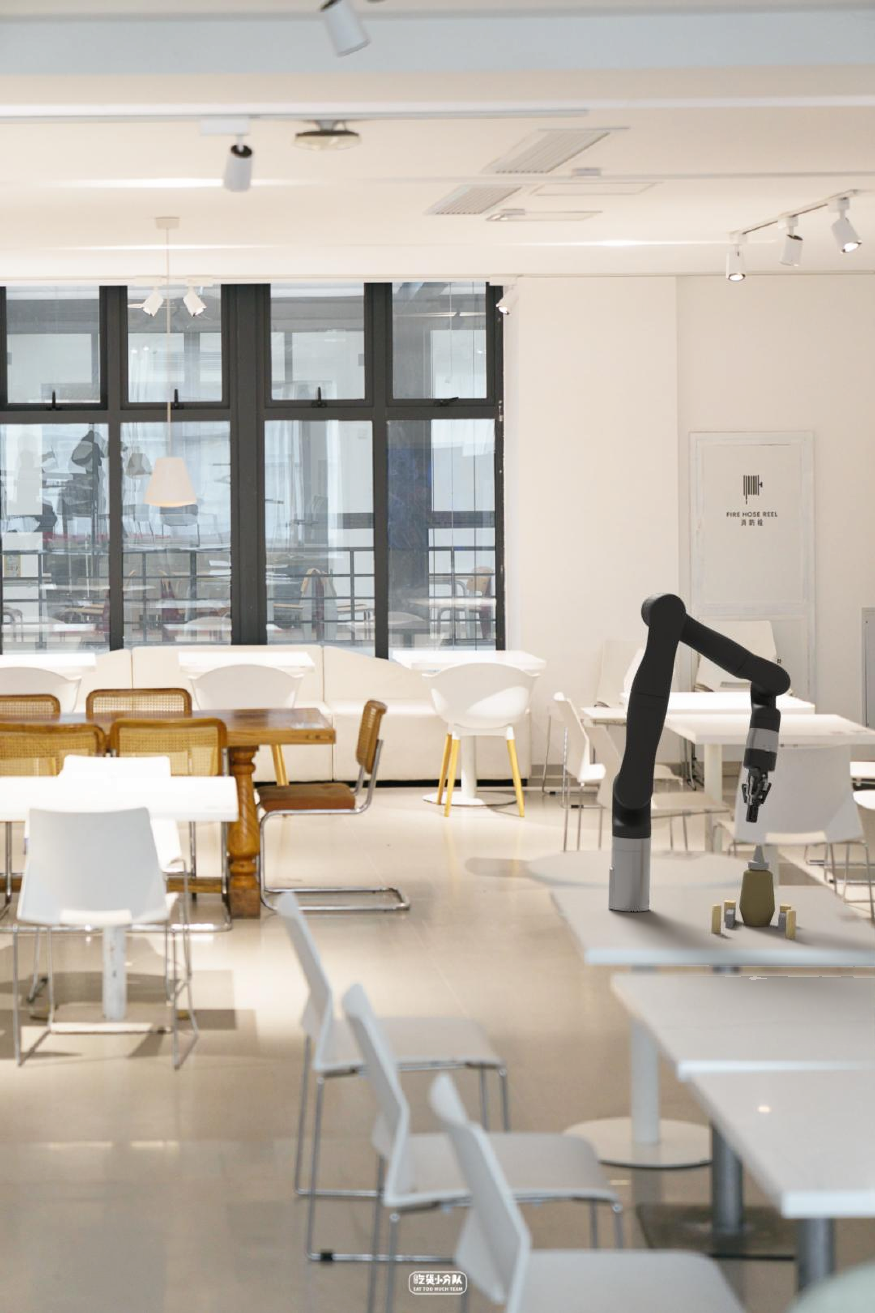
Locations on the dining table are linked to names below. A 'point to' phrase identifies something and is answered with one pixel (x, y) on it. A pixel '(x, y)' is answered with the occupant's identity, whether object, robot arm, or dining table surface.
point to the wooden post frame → (784, 920)
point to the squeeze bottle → (757, 892)
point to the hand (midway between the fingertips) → (751, 822)
